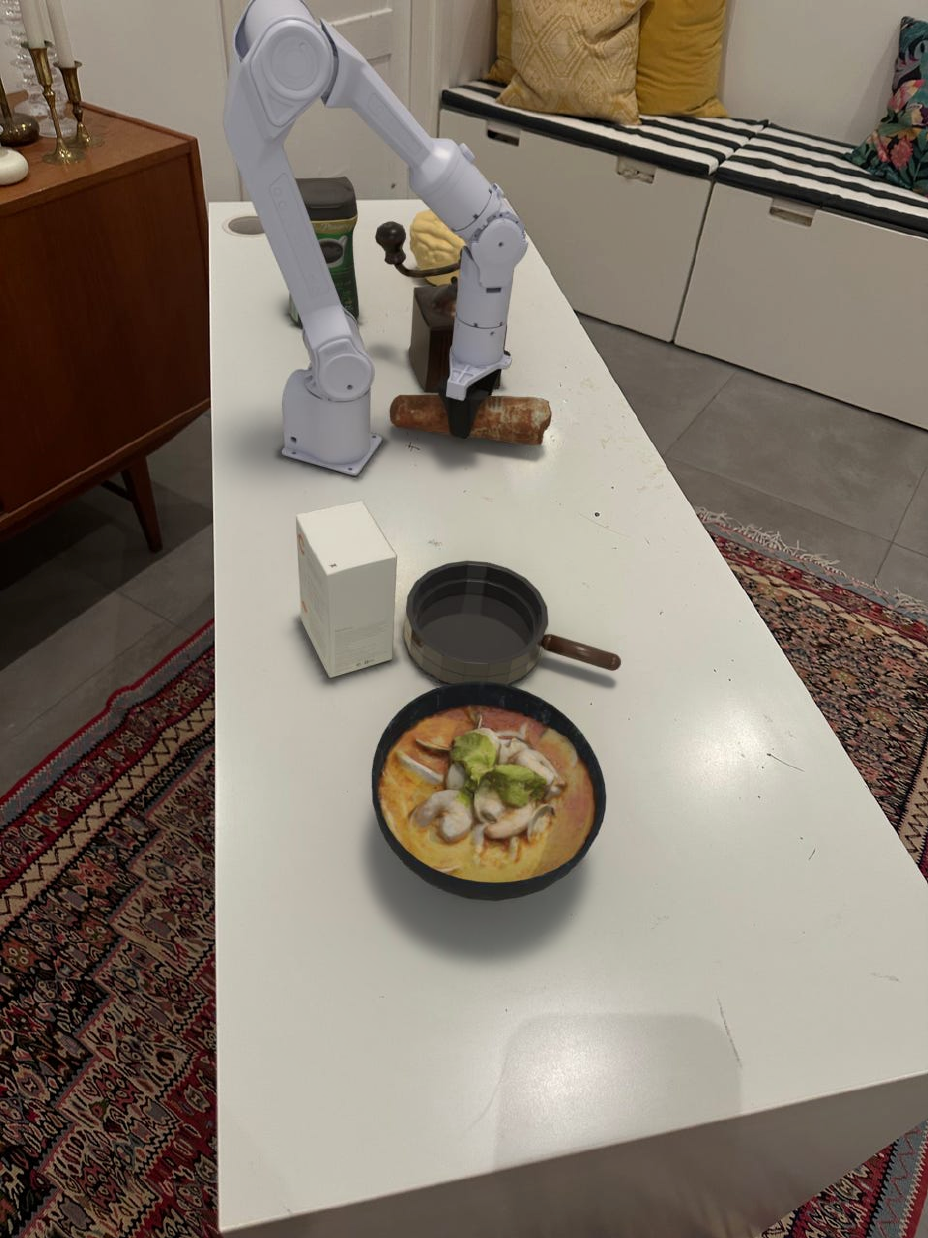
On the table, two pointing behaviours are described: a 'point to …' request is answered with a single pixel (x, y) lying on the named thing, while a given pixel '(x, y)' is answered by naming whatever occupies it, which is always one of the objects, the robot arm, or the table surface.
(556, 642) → the pan handle
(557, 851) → the bowl
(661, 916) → the table surface
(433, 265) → the sculpture
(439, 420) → the bread
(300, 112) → the robot arm
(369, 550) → the small box
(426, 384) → the manual coffee grinder
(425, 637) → the pan
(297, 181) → the coffee jar
